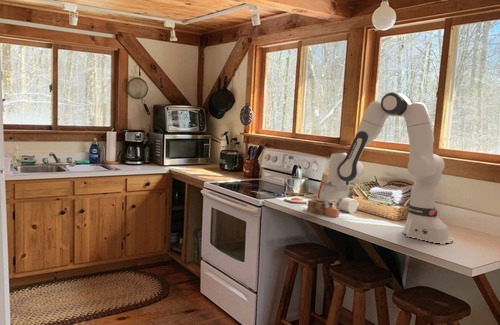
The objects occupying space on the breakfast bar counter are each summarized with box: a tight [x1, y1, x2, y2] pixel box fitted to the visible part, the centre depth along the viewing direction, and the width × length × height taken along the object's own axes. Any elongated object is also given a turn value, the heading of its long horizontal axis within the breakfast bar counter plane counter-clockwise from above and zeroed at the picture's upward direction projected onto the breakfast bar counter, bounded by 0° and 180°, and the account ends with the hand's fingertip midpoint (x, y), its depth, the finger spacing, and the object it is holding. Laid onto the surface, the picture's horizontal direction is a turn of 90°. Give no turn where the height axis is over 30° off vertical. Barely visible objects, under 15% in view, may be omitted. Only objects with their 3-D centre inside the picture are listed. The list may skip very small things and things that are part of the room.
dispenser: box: [306, 198, 334, 216], centre depth 246 cm, size 10×9×6 cm
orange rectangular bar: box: [324, 206, 340, 219], centre depth 243 cm, size 15×2×4 cm, turn 41°
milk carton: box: [316, 167, 336, 202], centre depth 281 cm, size 9×9×20 cm
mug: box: [334, 196, 360, 214], centre depth 255 cm, size 12×10×8 cm
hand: (332, 206), depth 239 cm, fingers open, 8 cm apart
